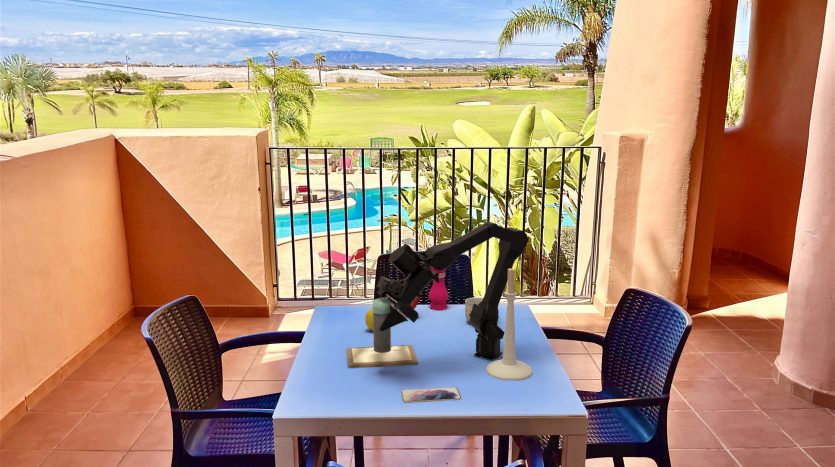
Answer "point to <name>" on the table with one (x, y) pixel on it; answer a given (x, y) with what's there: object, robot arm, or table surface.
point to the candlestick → (509, 343)
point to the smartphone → (430, 395)
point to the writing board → (381, 357)
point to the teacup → (471, 305)
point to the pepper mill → (438, 292)
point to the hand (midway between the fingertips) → (377, 327)
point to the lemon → (369, 319)
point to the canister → (379, 315)
